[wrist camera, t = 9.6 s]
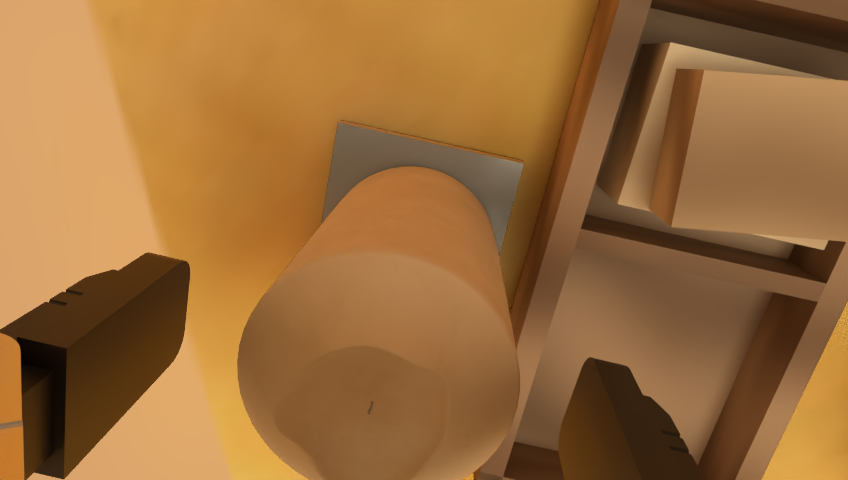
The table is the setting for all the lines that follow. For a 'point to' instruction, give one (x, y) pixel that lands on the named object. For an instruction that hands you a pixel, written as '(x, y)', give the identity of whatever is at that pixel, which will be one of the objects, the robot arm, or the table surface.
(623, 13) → the tray
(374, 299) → the candle
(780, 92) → the offcut upper
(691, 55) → the offcut lower
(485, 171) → the coaster
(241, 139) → the table surface
